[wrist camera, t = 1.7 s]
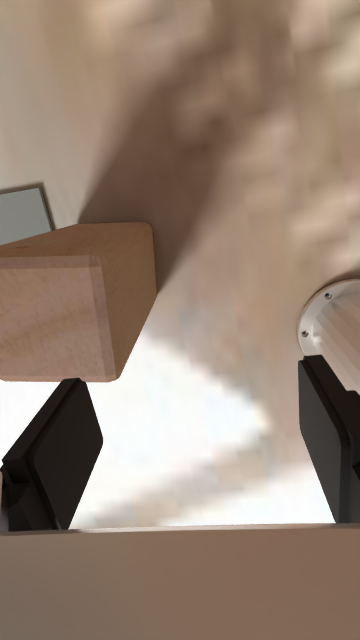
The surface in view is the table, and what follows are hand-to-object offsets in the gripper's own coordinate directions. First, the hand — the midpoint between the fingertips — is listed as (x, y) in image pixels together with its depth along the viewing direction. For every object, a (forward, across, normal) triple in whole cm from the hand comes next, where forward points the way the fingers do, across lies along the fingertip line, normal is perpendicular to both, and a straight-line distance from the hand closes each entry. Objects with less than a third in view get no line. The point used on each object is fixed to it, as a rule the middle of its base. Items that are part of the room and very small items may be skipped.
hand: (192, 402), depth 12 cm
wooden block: (+30, +11, 0) cm, 32 cm away
